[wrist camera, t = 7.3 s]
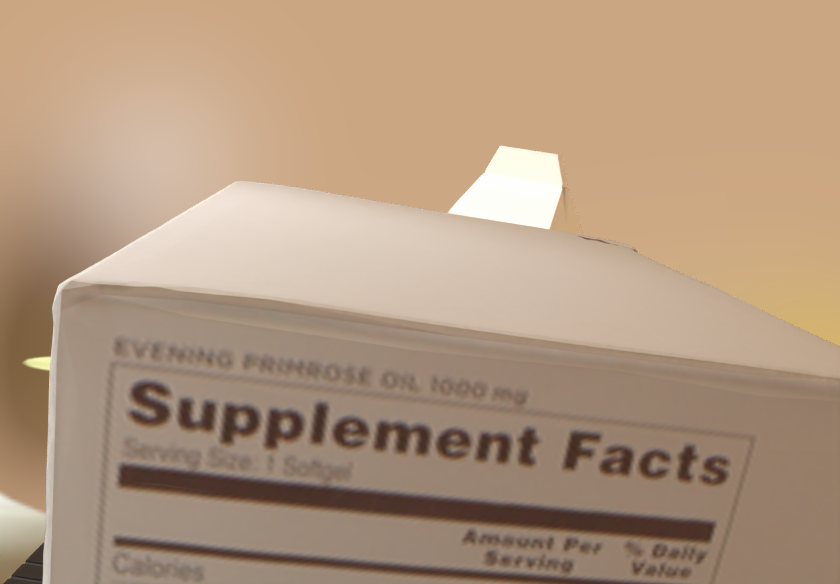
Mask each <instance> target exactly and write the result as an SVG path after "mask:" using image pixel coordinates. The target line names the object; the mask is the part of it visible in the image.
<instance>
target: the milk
mask: <svg viewBox="0 0 840 584" xmlns="http://www.w3.org/2000/svg"><path fill="white" fill-rule="evenodd" d="M567 185H568V184H567V179H566V173H565V168H564V162H563V156H562V155H557V154H550V153H544V152H538V151H530V150H524V149H518V148H511V147H505V146H500V147H499V149H498V151H497V152H496V154H495V156H494V157H493V159H492V161H491V162H490V164H489V166H488V167H487V169H486V170H485V173H484V174H482V175H481V176H480V178H479V179H478V180H477V181H476V182H475V183H474V184H473V185H472V186H471V187H470V188H469V189H468V191H467V192H466V193H465V194H464V195H463V196H462V197H461V198H460V199H459V200H458V201H457V203H456V204H455V205H454V206H453V207H452V208H451V210H450V211H449V212H448V213H451V214H457V215H464V216H470V217H476V218H482V219H489V220H495V221H501V222H507V223H513V224H520V225H526V226H532V227H538V228H544V229H551V230H557V231H562V232H568V233H573V234H579V235H583V232H582V227H581V224H580V221H579V218H578V215H577V212H576V209H575V206H574V203H573V200H572V197H571V194H570V191H569V189H568V188H567Z"/></svg>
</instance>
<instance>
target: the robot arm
mask: <svg viewBox="0 0 840 584" xmlns="http://www.w3.org/2000/svg"><path fill="white" fill-rule="evenodd" d="M43 551H44V543H43V544H42V545H41V546H40V547H39V548H38V549H37V550H36V551H35V552H34V553H33V554H32V555H31V556H30V557H29V558H28V559H27V560H26V563H25V564H22V565H21V566H20V567H19V568H18V569H17V570H16V571H15V573H14V574H13V575H12V577H11V579H8V580H7V581H6V582H5V583H4V584H43Z"/></svg>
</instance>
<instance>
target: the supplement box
mask: <svg viewBox="0 0 840 584" xmlns="http://www.w3.org/2000/svg"><path fill="white" fill-rule="evenodd" d="M52 312H53V322H54V327H53V339H52V351H51V363H50V374H49V375H50V376H49V419H48V420H49V421H48V449H47V479H46V480H47V481H46V532H45V541H44V551H43V584H840V346H838V345H835V344H833V343H831V342H829V341H827V340H824V339H822V338H820V337H818V336H816V335H813V334H811V333H809V332H807V331H805V330H803V329H801V328H799V327H796V326H794V325H792V324H790V323H788V322H786V321H783V320H782V319H779V318H777V317H775V316H773V315H771V314H769V313H767V312H765V311H763V310H761V309H759V308H757V307H755V306H753V305H751V304H748V303H747V302H745V301H743V300H740V299H738V298H736V297H734V296H732V295H730V294H728V293H726V292H724V291H722V290H720V289H718V288H716V287H713V286H711V285H709V284H706V283H704V282H702V281H699V280H697V279H695V278H692V277H690V276H687V275H685V274H683V273H680V272H678V271H676V270H674V269H671V268H669V267H667V266H665V265H662V264H660V263H658V262H656V261H654V260H652V259H649V258H647V257H645V256H643V255H641V254H639V253H638V252H637V251H636V249H635V248H634V247H631V246H629V245H626V244H623V243H620V242H616V241H612V240H606V239H600V238H594V237H590V236H584V235H579V234H573V233H568V232H562V231H557V230H551V229H544V228H538V227H532V226H526V225H520V224H513V223H507V222H501V221H495V220H489V219H482V218H476V217H470V216H464V215H457V214H451V213H445V212H439V211H433V210H427V209H421V208H415V207H409V206H403V205H397V204H391V203H385V202H379V201H373V200H367V199H362V198H357V197H351V196H345V195H339V194H334V193H328V192H322V191H317V190H310V189H304V188H297V187H291V186H284V185H278V184H271V183H260V182H250V181H237V182H234V183H232V184H230V185H229V186H227V187H226V188H224V189H222V190H221V191H219V192H217V193H216V194H214V195H212V196H211V197H209V198H207V199H205V200H204V201H202V202H201V203H199V204H197V205H195V206H194V207H192V208H190V209H189V210H187V211H185V212H183V213H182V214H180V215H178V216H177V217H175V218H173V219H171V220H170V221H168V222H166V223H165V224H163V225H162V226H160V227H158V228H157V229H155V230H153V231H151V232H149V233H148V234H146V235H144V236H142V237H141V238H139V239H137V240H136V241H134V242H132V243H131V244H129V245H127V246H126V247H124V248H122V249H121V250H119V251H117V252H116V253H114V254H112V255H110V256H109V257H107V258H105V259H103V260H102V261H100V262H98V263H96V264H95V265H93V266H91V267H89V268H88V269H86V270H84V271H82V272H80V273H79V274H77V275H75V276H73V277H71V278H69V279H67V280H66V281H64V282H63V283H61V284H60V285H59V286H58V289H57V292H56V295H55V299H54V303H53V307H52Z"/></svg>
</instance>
